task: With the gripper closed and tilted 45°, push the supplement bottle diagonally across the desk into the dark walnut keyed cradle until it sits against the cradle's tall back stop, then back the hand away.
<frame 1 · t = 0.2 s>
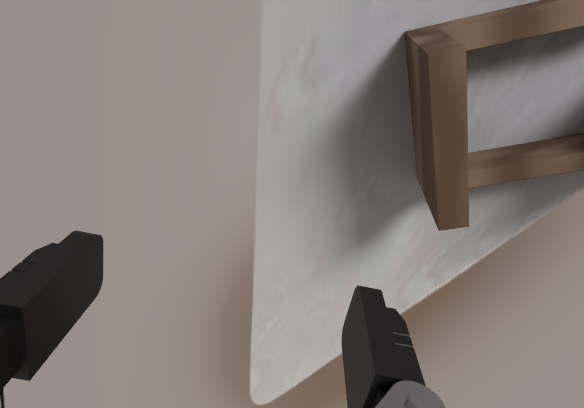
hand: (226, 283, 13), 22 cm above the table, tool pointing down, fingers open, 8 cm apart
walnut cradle: (498, 94, 31), on the table
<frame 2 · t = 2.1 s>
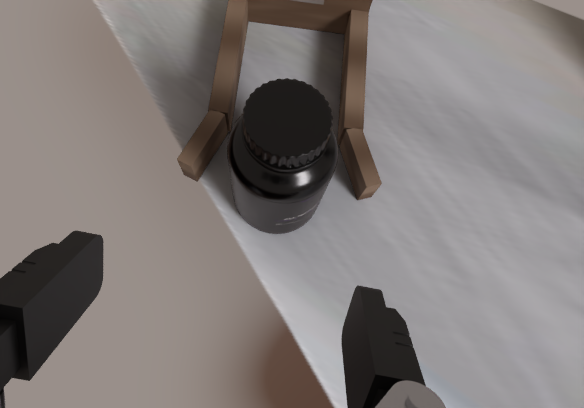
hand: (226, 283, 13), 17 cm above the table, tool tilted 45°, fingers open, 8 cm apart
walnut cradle: (292, 68, 36), on the table
supplement bottle: (277, 195, 32), on the table
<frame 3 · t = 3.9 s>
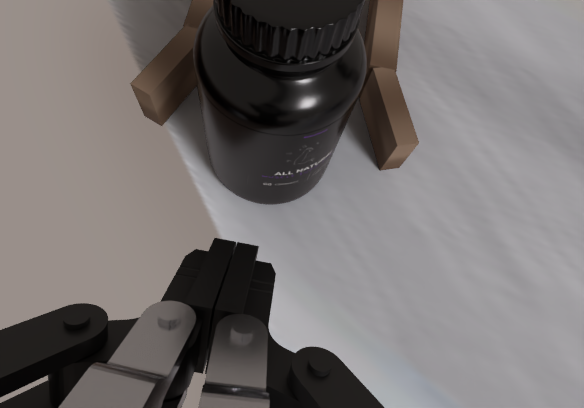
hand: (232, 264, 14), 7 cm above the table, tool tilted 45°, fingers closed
supplement bottle: (269, 154, 24), on the table
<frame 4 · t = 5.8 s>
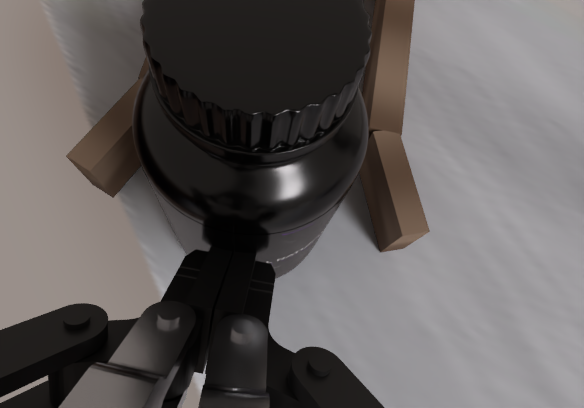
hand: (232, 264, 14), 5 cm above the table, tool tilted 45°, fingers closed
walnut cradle: (292, 34, 23), on the table
supplement bottle: (250, 215, 19), on the table, touching gripper
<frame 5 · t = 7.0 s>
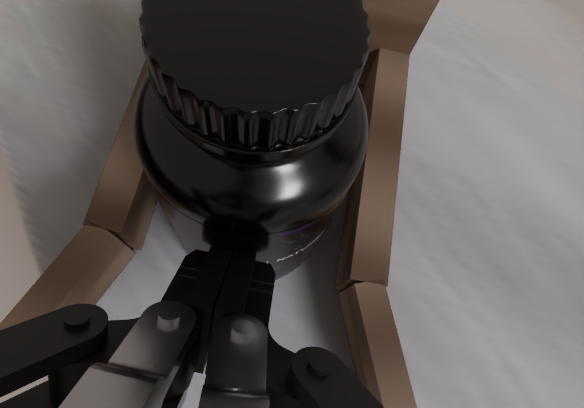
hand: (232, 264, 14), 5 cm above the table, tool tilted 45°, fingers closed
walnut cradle: (269, 137, 21), on the table
supplement bottle: (251, 216, 19), on the table, touching gripper
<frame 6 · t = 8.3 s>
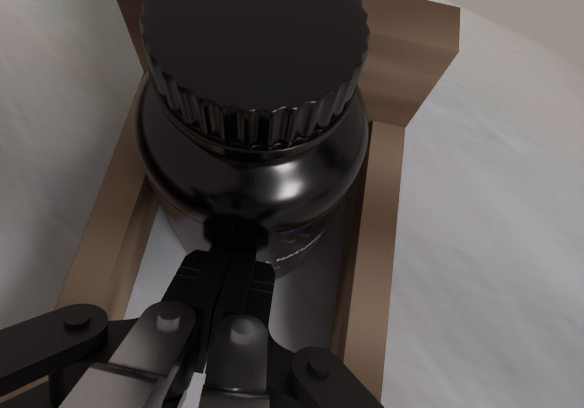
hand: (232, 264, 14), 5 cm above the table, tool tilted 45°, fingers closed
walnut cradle: (254, 213, 19), on the table
supplement bottle: (251, 216, 19), on the table, touching gripper
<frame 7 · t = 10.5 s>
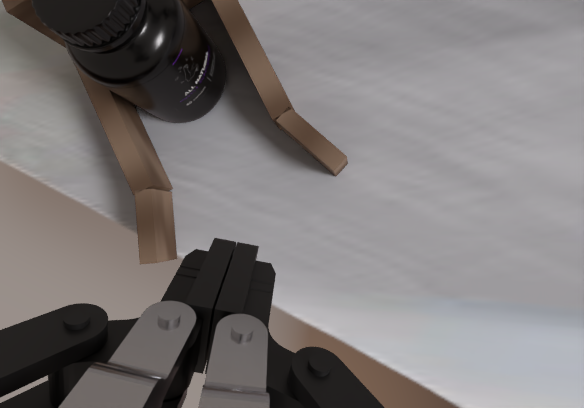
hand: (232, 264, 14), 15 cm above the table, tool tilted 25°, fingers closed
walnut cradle: (185, 77, 30), on the table
supplement bottle: (186, 80, 30), on the table
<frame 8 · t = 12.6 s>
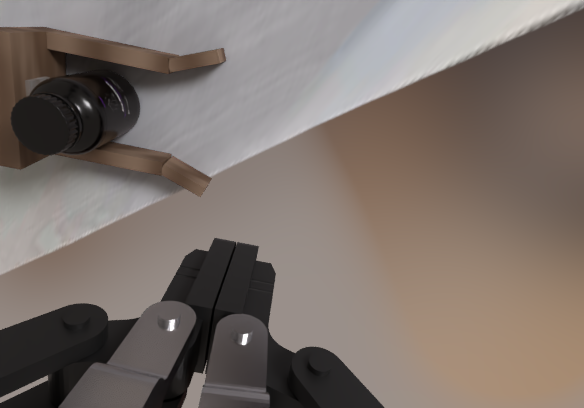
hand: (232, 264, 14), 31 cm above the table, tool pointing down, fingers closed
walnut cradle: (108, 100, 43), on the table
supplement bottle: (110, 101, 43), on the table
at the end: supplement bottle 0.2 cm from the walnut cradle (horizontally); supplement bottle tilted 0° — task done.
